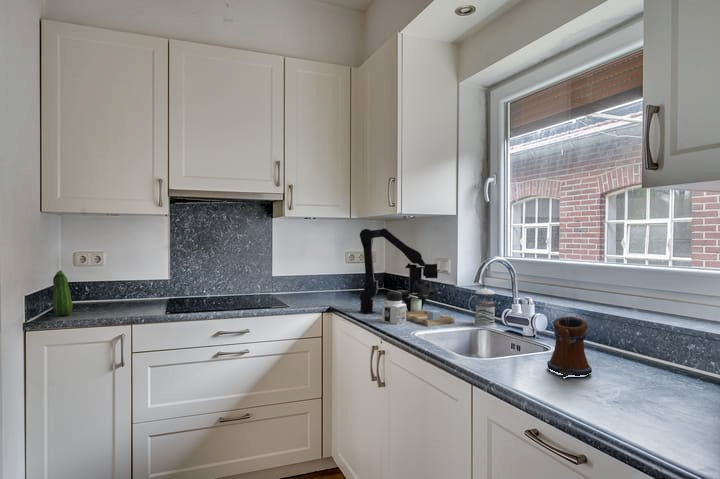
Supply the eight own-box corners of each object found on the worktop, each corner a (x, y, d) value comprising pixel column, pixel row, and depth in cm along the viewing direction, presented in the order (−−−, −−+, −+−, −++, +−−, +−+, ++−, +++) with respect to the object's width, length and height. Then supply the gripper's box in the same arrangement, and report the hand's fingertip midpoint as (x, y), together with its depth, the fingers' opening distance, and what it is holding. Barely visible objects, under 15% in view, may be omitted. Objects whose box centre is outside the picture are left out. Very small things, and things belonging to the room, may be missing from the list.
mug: (585, 388, 112) (587, 329, 112) (537, 379, 119) (538, 323, 118) (594, 370, 127) (595, 318, 127) (551, 363, 134) (552, 313, 133)
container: (396, 324, 186) (397, 293, 185) (381, 322, 190) (381, 291, 190) (406, 321, 192) (406, 291, 191) (391, 319, 196) (391, 290, 196)
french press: (498, 328, 181) (499, 266, 180) (468, 326, 183) (469, 266, 183) (495, 323, 191) (496, 265, 190) (467, 321, 193) (468, 264, 192)
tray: (400, 317, 201) (400, 312, 201) (425, 315, 208) (425, 310, 208) (427, 326, 183) (427, 320, 183) (454, 323, 190) (454, 318, 190)
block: (427, 320, 192) (427, 310, 192) (434, 319, 194) (434, 310, 194) (433, 321, 188) (433, 312, 188) (440, 320, 190) (440, 311, 190)
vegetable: (71, 316, 194) (71, 270, 194) (51, 317, 191) (51, 271, 190) (73, 313, 200) (73, 269, 200) (54, 314, 197) (54, 269, 197)
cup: (405, 314, 210) (406, 299, 209) (416, 313, 212) (416, 298, 212) (413, 316, 204) (413, 300, 204) (423, 315, 207) (424, 300, 207)
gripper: (408, 280, 196) (408, 316, 197) (442, 278, 205) (441, 312, 206) (394, 278, 206) (394, 311, 207) (427, 276, 215) (427, 308, 215)
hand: (414, 311), depth 208 cm, fingers closed on cup, 6 cm apart
